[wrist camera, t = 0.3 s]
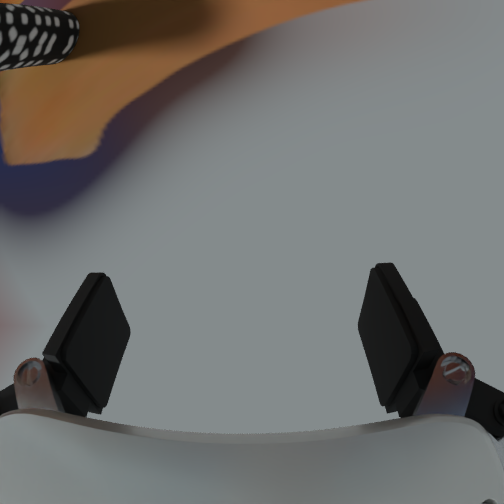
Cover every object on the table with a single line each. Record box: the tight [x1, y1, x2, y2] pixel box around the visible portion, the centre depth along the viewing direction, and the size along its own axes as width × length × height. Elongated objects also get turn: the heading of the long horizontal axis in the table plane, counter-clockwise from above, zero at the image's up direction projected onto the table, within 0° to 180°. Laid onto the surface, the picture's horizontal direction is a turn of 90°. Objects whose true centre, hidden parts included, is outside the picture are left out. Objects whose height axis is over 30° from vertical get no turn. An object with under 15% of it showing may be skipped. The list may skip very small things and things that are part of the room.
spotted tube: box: [0, 3, 79, 71], centre depth 19 cm, size 8×8×20 cm
